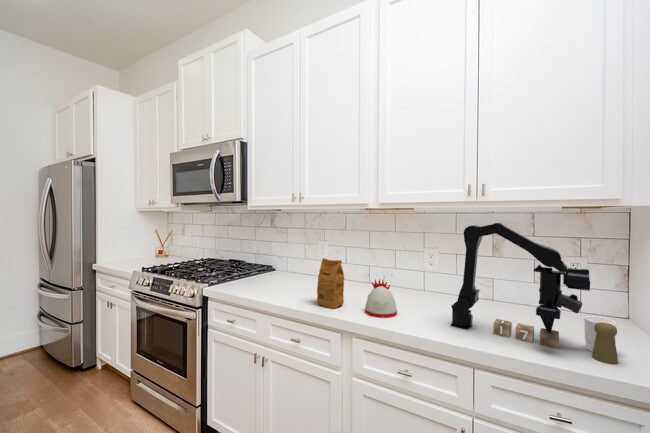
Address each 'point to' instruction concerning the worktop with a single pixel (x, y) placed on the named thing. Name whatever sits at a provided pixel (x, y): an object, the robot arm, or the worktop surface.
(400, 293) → the worktop surface
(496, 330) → the block one
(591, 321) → the white cup
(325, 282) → the coffee package
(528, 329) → the tan marked cube block
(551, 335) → the plain block
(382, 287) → the grey dome
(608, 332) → the cork
